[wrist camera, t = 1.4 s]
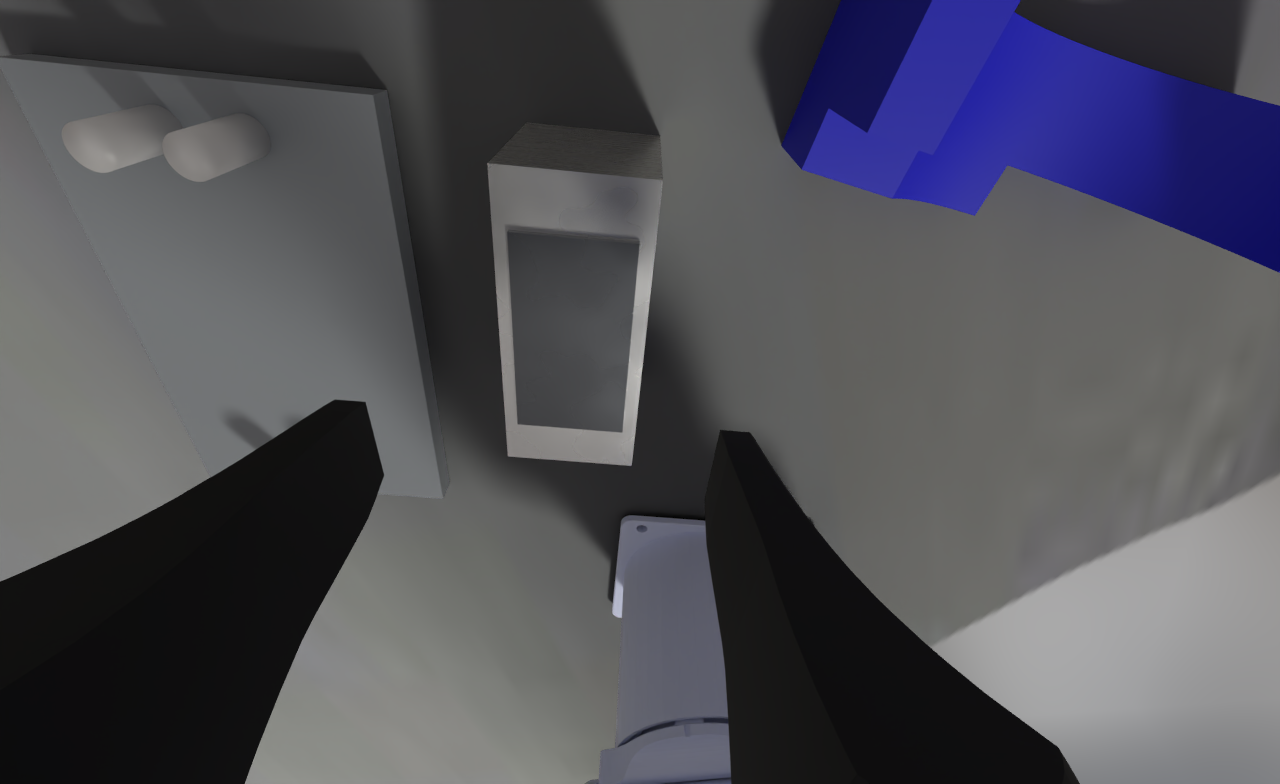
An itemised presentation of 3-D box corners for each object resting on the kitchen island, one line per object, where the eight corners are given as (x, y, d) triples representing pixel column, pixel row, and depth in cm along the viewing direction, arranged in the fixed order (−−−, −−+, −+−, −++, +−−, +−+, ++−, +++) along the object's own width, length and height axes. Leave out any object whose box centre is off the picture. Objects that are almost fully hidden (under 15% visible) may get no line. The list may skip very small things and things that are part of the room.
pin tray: (387, 89, 16) (329, 110, 13) (449, 482, 25) (424, 544, 22) (28, 53, 16) (-111, 67, 13) (226, 465, 25) (172, 526, 22)
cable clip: (780, 144, 17) (831, 205, 12) (853, -35, 14) (957, -50, 9) (1108, 251, 19) (1269, 342, 14) (1225, 109, 16) (1474, 158, 11)
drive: (660, 135, 17) (662, 181, 13) (635, 378, 22) (631, 469, 18) (527, 121, 17) (485, 164, 12) (534, 370, 22) (506, 459, 18)
